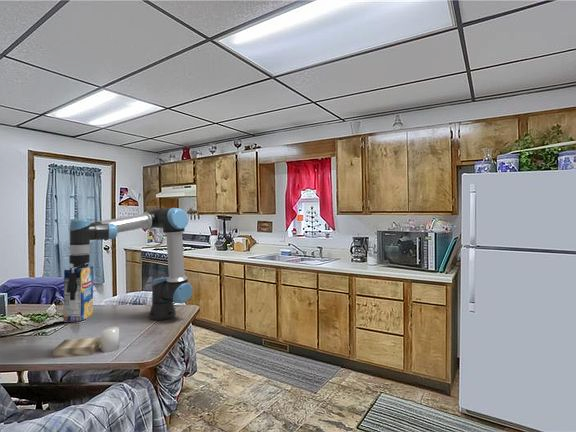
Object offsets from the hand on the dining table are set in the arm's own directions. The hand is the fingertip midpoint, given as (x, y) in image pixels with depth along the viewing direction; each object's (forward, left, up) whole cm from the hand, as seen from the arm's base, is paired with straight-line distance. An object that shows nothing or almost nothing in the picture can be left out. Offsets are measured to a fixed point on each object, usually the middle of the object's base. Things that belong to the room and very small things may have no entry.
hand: (78, 303), depth 145 cm
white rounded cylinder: (-13, 0, -21) cm, 25 cm away
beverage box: (0, 0, -6) cm, 6 cm away
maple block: (0, 0, -21) cm, 21 cm away
